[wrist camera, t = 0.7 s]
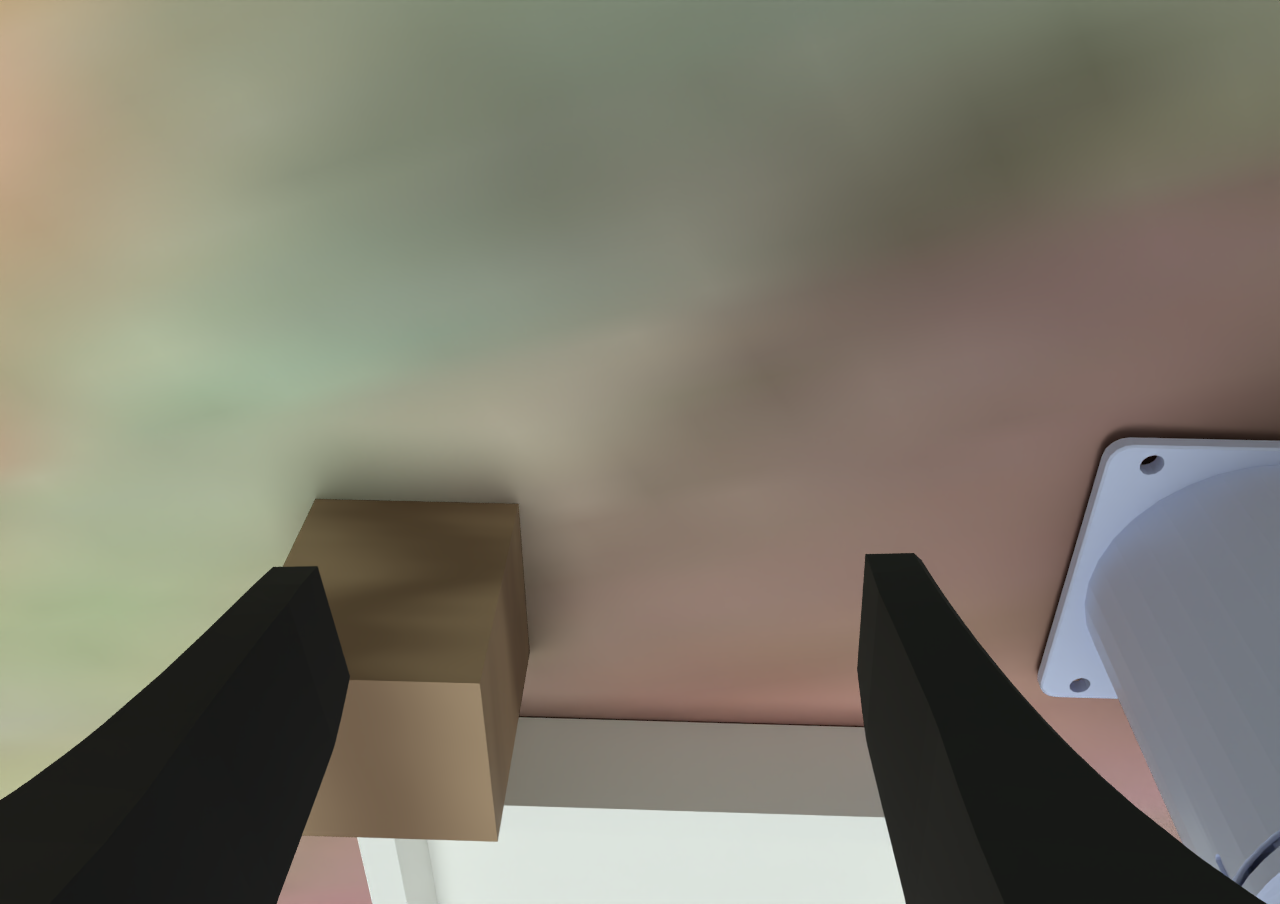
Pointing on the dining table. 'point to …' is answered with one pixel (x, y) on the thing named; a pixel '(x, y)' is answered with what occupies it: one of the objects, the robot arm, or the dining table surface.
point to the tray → (663, 821)
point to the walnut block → (420, 664)
